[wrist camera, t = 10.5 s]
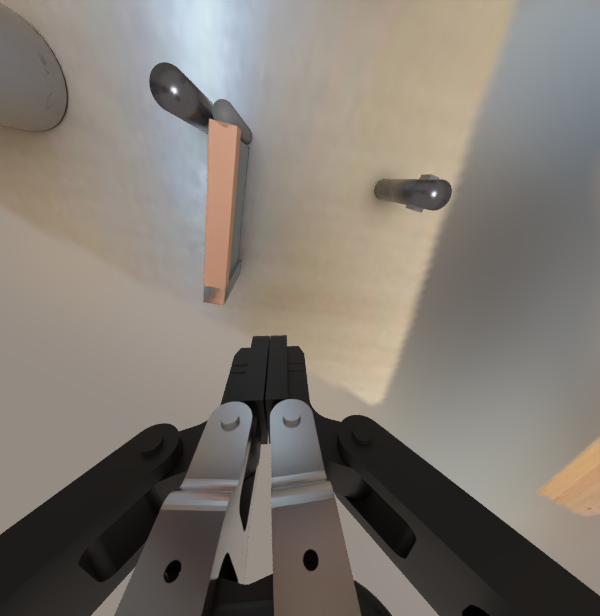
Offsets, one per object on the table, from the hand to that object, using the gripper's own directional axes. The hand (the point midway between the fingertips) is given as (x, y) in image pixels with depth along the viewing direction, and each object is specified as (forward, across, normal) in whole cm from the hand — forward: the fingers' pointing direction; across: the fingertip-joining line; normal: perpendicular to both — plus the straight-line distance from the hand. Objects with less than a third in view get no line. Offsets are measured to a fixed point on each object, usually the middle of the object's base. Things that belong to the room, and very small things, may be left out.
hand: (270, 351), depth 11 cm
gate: (+23, +5, -4) cm, 23 cm away
